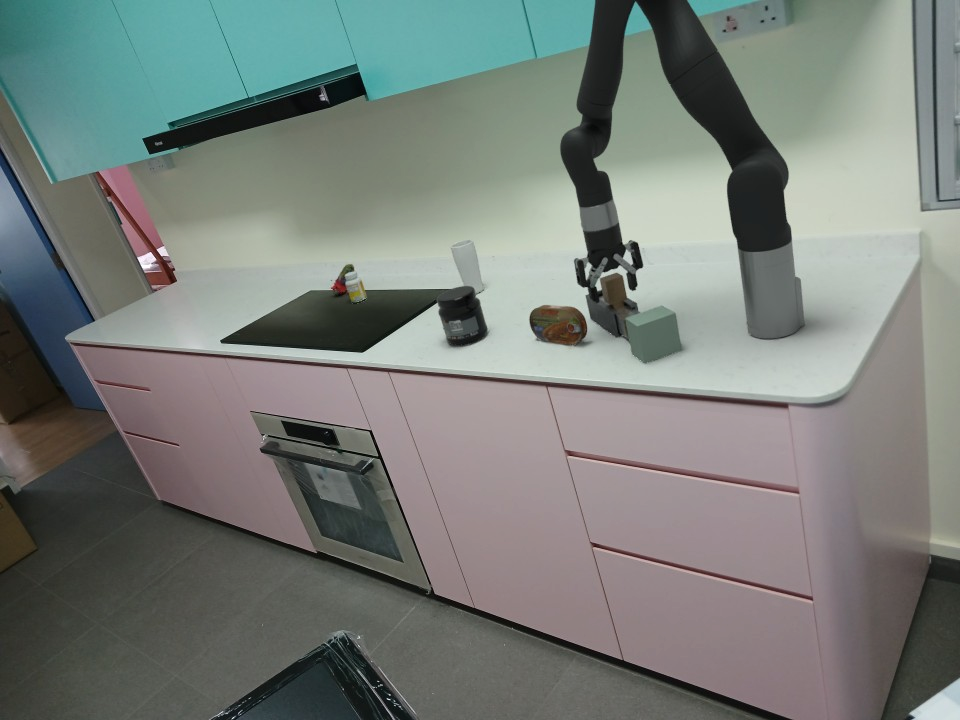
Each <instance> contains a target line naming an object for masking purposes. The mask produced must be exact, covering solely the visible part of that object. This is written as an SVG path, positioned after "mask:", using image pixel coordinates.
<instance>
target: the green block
mask: <svg viewBox="0 0 960 720" xmlns="http://www.w3.org/2000/svg"><path fill="white" fill-rule="evenodd" d="M625 321H626V326H627V331H628V336H629V339H628V340H629V346H630V351H631V355H632V356H633V355H634V356H633V357H635V358H636V357H637V358H638V360H639V361H640V360H641V361H642V364H644V363H645V364H647V362H648V363H650V362H649V361H651V362H653V361H652V360H654V361H655V360H658V358H659V359H661V357H662V358H664V356H665V357H667V356H669V355H673V354H675V352H676V353H679V352H681V351H683V349H682V343H681V337H680V331H679V326H678V324H679V323H678V319H677V313H676V312H675V311H673V310H672V309H670V308H667V307H666V306H664V305H659V306H656V307H654V308H650V309H648V310H645V311H642V312H640V313H639V314H636V315H633V316H630V317H627V318H625ZM678 351H679V352H678ZM672 353H673V354H672ZM666 355H667V356H666ZM637 358H636V359H637ZM641 361H640V362H641Z"/></svg>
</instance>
